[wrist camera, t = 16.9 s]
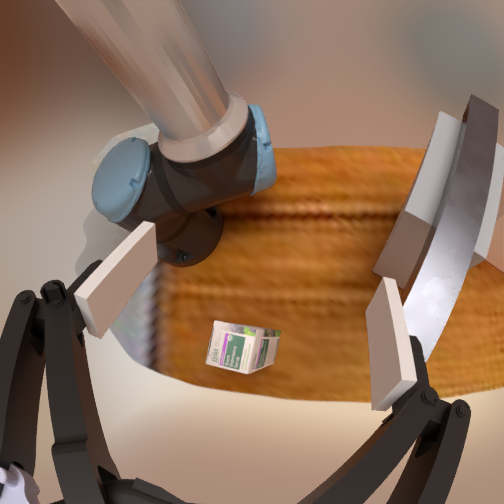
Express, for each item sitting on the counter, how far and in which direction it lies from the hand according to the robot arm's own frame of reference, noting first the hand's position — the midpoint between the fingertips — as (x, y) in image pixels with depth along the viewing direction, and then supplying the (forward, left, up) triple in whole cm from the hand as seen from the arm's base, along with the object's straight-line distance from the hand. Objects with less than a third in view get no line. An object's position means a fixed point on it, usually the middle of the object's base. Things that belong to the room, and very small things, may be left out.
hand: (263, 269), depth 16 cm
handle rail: (+10, +13, -8) cm, 18 cm away
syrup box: (-4, -9, -32) cm, 33 cm away
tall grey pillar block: (+10, +18, -32) cm, 38 cm away
